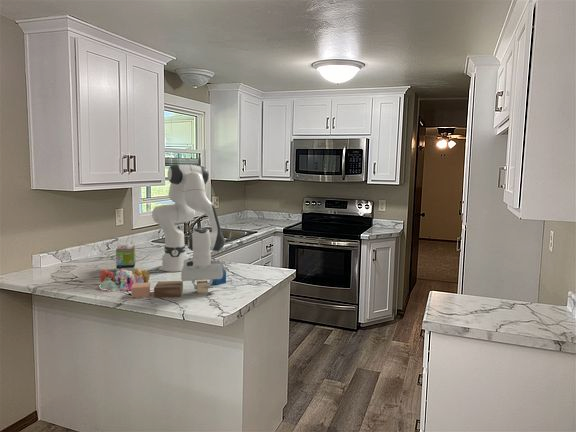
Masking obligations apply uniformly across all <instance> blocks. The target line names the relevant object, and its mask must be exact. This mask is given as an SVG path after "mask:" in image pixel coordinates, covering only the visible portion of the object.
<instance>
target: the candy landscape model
mask: <svg viewBox="0 0 576 432" xmlns="http://www.w3.org/2000/svg"><path fill="white" fill-rule="evenodd" d="M150 275H151V274H150V273H148V270H146V269H143V270H142V269H140V268H138V267H137V268H136V267H135V269H134V273H132V272H131V271H128V270H125V269H124V270H120V271H117V272H115V275H114V272H113V271H109V270H108V269H102V270H101V271H100V276H99V278H100V284H101V286H100V287H101V288H102V289H107V290H110V291H113V290H120V291H123V290H131V287H132V285H133V284H134V283H149V280H150V277H151V276H150ZM107 277H110V280H107V281H105V280H106V278H107ZM113 292H114V291H113Z"/></svg>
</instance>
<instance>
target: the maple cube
mask: <svg viewBox="0 0 576 432" xmlns="http://www.w3.org/2000/svg"><path fill="white" fill-rule="evenodd" d="M208 284H209V282H208V280H196V285H197V289H196V293H197V294H207V293H209V288H208Z"/></svg>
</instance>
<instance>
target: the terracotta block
mask: <svg viewBox="0 0 576 432" xmlns="http://www.w3.org/2000/svg"><path fill="white" fill-rule="evenodd" d="M150 296H151V282H148V283H134V284H133V285H132V287H131V298H132V297H138V298H149V297H150Z"/></svg>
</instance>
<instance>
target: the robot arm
mask: <svg viewBox="0 0 576 432" xmlns="http://www.w3.org/2000/svg"><path fill="white" fill-rule="evenodd" d="M209 176H210V175H209V170H208V169H207V167H205V166H201V165H194V164H172V165H169V167H168V170H167V180H168V181H169V183H170V185H169V190H168V194H167V195H168V198H169V199H170V200H171V202H173V203H172V204H161V205H157V206H155V207H154V208H153V209H152V213H151V218H152V219H153V221H154V222H155V223H156V224H158V225H159V226H160V227H161V229H162V230H163V233H164V243H165V245H164V254H162V256H161V261H162V262H161V266H160V267H159V268H158V271H164V272H169V273H170V272H172V273H173V272H181V274H180V275H181V276H180V277H181V278H180V279H181V281H183V282H188V281H189V282H191V284H192V285H193V289H194V290H197V284H195V283H196V281H202V280H207V281H208V280H209V282H208V289H211V286H212V285H213V284H212V282H213V279H222V277H223V272H222V268H223V267H224V262H223V261H222V260H221V259H216V260H217V261H216V260H212V253H211V251H212V252H219V251H221V250H222V249H223V248H224V246H225V238H224V234H223V232H222V229H221V228H222V227H221V225H220V222H219V218H218V214H217V211H216V208H215V205H214V203H213V202H212V201H210V199H209V198H208V196H207V191H206V184H207V183H208V181H209ZM196 211H197V212H198V213H202V214H204V215H206V217H208V219H209V223H210V227H211V231H210V230H209V228H207V227H195V228H194V229H193V231H192V233H190V234H189V235H188V236H187V249H189V250H190V251H191V252H193V253H192V257H189V255H188V253H186V245H185V233H184V231H183V230H181V229H180V228H177V227H176V224H177V223H187V222H190V221H193V220H194V218H195V216H196ZM220 260H221V261H220Z"/></svg>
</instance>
